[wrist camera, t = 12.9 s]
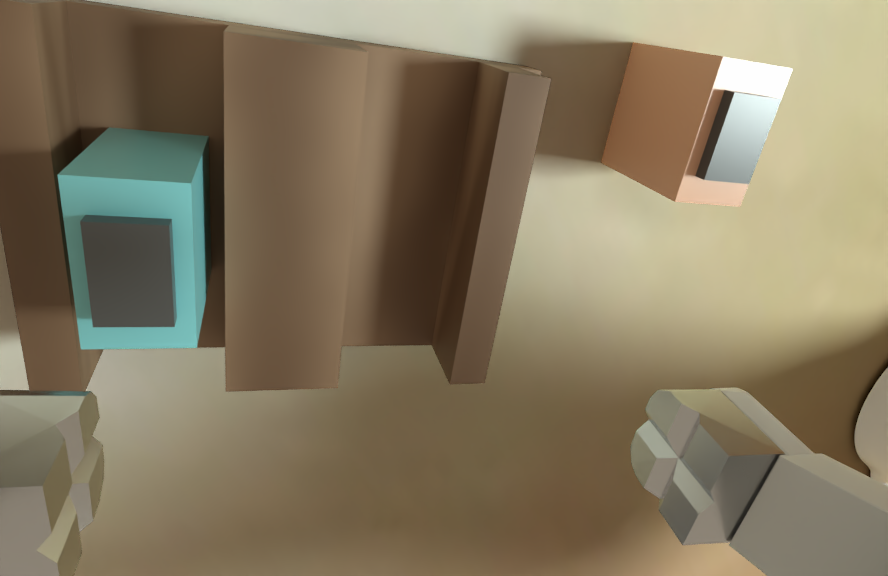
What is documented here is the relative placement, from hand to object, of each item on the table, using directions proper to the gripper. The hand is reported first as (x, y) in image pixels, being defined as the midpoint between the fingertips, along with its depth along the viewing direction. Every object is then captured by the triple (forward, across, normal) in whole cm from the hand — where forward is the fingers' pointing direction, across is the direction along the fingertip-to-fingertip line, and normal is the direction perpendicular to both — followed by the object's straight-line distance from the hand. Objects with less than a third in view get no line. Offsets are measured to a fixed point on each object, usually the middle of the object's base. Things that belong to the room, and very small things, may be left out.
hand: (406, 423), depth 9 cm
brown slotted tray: (+16, +2, +2) cm, 16 cm away
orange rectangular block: (+17, -13, -3) cm, 22 cm away
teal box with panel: (+14, +6, +2) cm, 16 cm away
